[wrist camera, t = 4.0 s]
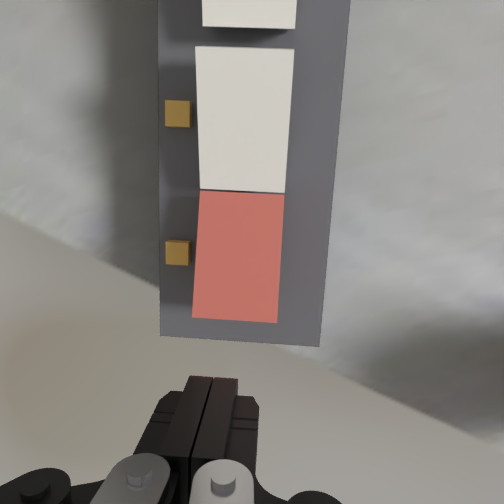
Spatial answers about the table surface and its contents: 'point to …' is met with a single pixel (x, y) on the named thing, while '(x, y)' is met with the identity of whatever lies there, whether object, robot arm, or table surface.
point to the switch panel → (295, 197)
